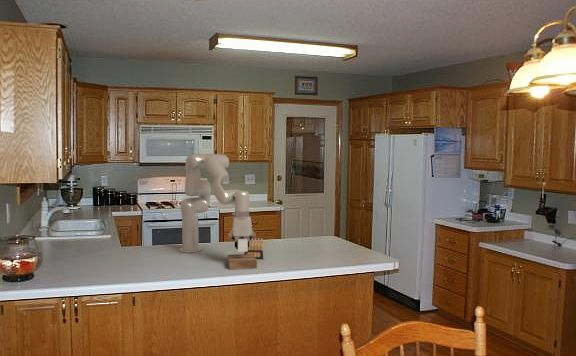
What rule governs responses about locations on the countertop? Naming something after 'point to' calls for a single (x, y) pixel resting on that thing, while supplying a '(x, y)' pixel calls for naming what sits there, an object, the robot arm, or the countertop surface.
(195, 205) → the robot arm
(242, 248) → the block
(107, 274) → the countertop surface
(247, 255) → the walnut stand
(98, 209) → the countertop surface
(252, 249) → the ammunition clip
